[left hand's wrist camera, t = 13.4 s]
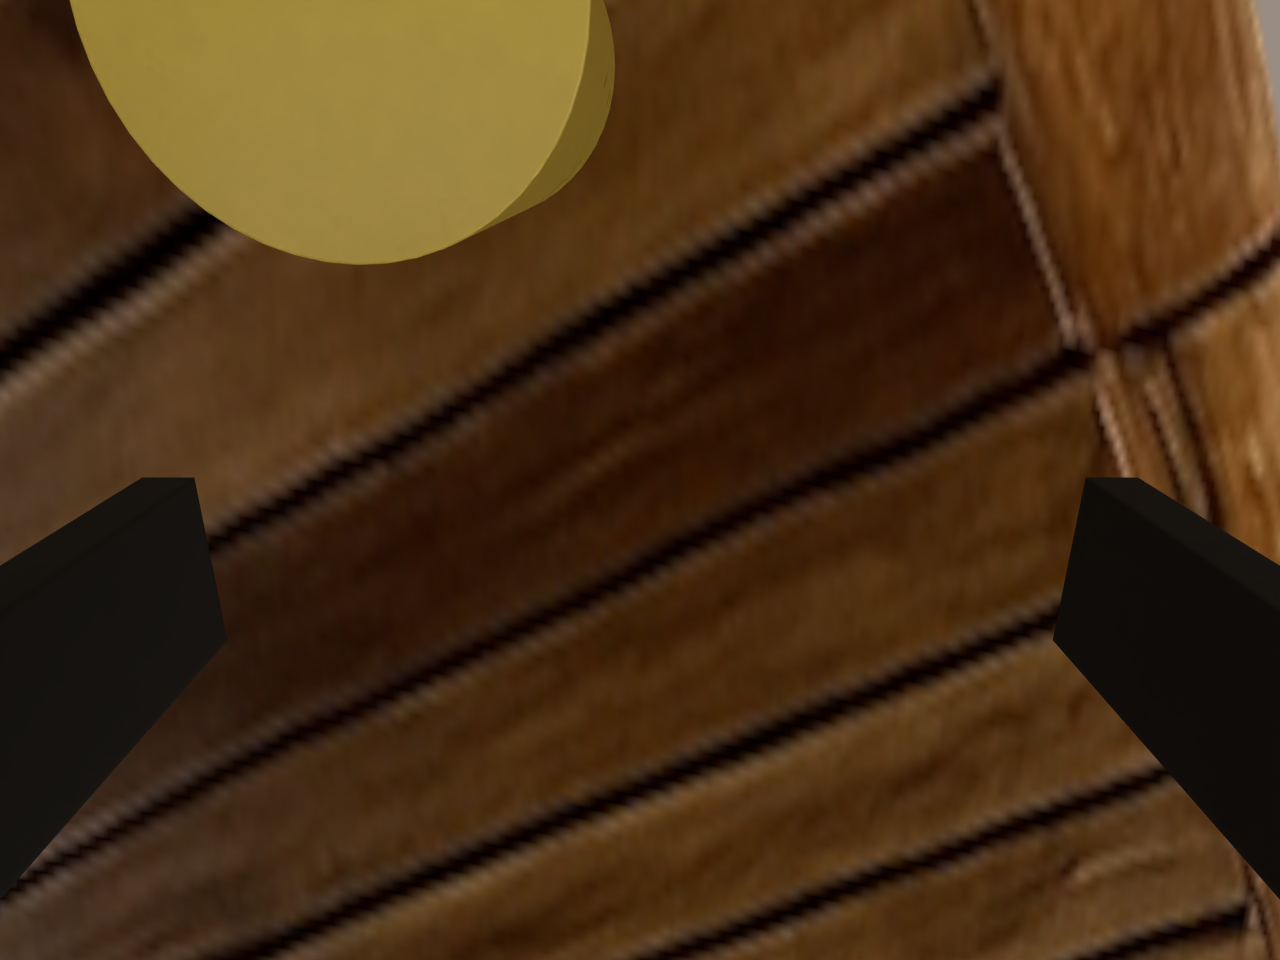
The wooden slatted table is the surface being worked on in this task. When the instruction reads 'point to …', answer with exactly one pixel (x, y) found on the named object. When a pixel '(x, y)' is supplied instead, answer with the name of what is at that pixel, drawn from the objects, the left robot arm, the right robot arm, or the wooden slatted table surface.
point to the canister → (357, 111)
